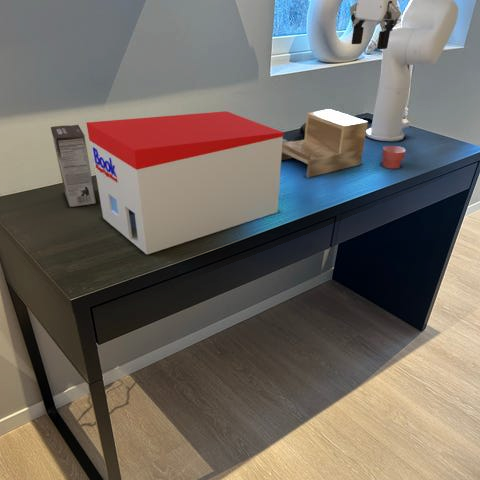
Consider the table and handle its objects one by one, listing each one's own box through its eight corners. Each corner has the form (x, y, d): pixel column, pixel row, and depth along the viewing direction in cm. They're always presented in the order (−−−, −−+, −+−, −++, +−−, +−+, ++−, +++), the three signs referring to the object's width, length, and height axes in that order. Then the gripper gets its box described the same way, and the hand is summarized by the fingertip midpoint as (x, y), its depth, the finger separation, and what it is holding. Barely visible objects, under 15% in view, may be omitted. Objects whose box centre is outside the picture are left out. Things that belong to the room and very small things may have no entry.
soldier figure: (284, 144, 157) (305, 143, 147) (276, 157, 157) (296, 156, 147) (268, 128, 153) (288, 125, 143) (260, 141, 153) (280, 139, 143)
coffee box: (64, 193, 120) (49, 126, 111) (90, 189, 123) (78, 123, 113) (69, 207, 114) (54, 137, 104) (96, 203, 116) (85, 134, 106)
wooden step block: (324, 149, 151) (329, 108, 144) (360, 164, 141) (368, 121, 133) (273, 161, 142) (276, 118, 135) (308, 177, 132) (313, 132, 124)
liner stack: (390, 160, 144) (393, 144, 141) (406, 166, 140) (410, 150, 137) (375, 164, 141) (378, 147, 138) (391, 170, 137) (395, 153, 134)
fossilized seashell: (330, 133, 156) (321, 130, 165) (321, 114, 153) (312, 112, 162) (310, 146, 157) (302, 142, 166) (301, 128, 154) (293, 125, 163)
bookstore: (101, 218, 110) (85, 122, 97) (226, 184, 127) (226, 99, 114) (145, 255, 96) (133, 150, 84) (278, 212, 114) (284, 119, 101)
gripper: (418, -31, 116) (402, 50, 126) (367, -33, 127) (356, 41, 138) (396, -32, 112) (382, 51, 123) (346, -34, 124) (336, 42, 134)
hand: (368, 46), depth 130 cm, fingers open, 9 cm apart
